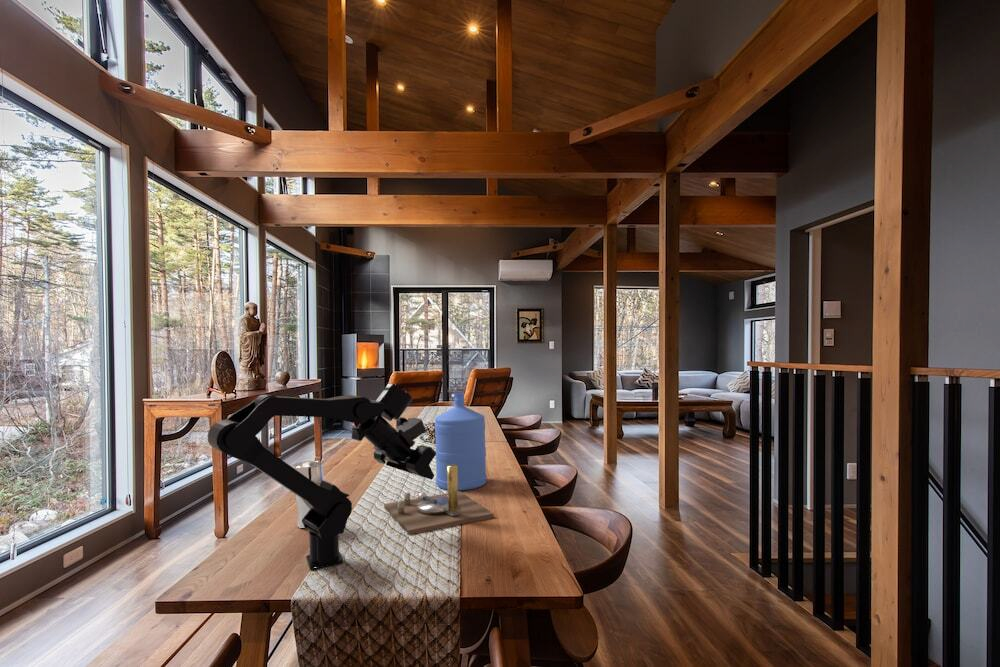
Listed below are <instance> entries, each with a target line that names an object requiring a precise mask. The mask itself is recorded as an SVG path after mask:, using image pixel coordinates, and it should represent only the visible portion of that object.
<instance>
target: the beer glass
mask: <svg viewBox="0 0 1000 667" xmlns="http://www.w3.org/2000/svg"><path fill="white" fill-rule="evenodd" d="M293 468H294V469H295V470H297V471H298V472H300V473H301V474H303V475H304V476H305V477H307V478H308V479H310V480H311V481H313V482H314V483H315V484H317V485H320V483H321V481H322V480H324V481H325V478H324V465H323V462H322V461H321V460H320V461H319V460H310V461H309V460H308V461H302V462H301V461H300V462H299V463H296V464H294V467H293ZM294 495H295V500H296V504H297V513H298V515H297V521H296V528H298V527H299V528H298V529H300V528H304V525H303V523H302V519H303V518H304V517H305V515H306V514H307V513H308V511H309V510H310V508H309V507H308V506H307V505H306V504H305V502H304V501H303V500H302V499H301V498H300V497H299V496H297V495H296V494H294Z"/></svg>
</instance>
